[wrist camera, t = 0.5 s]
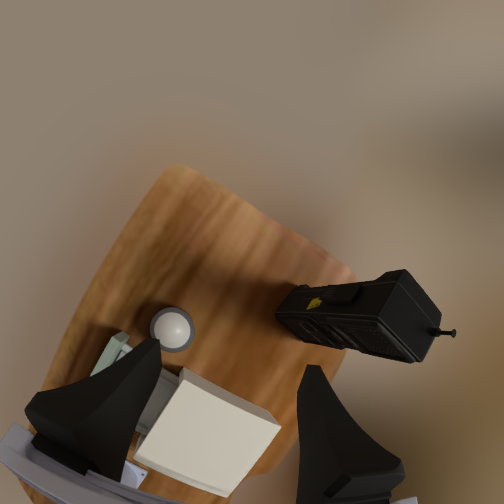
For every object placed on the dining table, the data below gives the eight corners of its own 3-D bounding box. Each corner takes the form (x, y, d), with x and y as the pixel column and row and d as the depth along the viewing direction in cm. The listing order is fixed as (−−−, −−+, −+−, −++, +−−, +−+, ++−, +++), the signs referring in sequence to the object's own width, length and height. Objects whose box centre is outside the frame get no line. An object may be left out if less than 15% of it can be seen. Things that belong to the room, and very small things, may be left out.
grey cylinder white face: (180, 354, 36) (179, 360, 32) (146, 332, 35) (141, 336, 31) (201, 321, 37) (203, 324, 33) (167, 298, 37) (164, 298, 33)
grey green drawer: (162, 449, 32) (160, 470, 26) (83, 401, 31) (69, 416, 25) (206, 383, 36) (210, 397, 30) (122, 330, 34) (112, 336, 28)
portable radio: (265, 312, 39) (381, 326, 15) (291, 279, 41) (419, 252, 17) (305, 344, 40) (435, 382, 16) (328, 312, 42) (465, 316, 18)
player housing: (220, 475, 33) (226, 497, 28) (138, 438, 32) (132, 458, 26) (267, 410, 37) (281, 426, 31) (183, 366, 36) (183, 379, 30)
